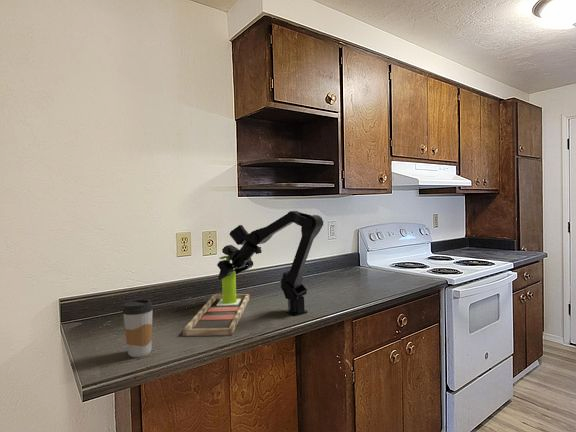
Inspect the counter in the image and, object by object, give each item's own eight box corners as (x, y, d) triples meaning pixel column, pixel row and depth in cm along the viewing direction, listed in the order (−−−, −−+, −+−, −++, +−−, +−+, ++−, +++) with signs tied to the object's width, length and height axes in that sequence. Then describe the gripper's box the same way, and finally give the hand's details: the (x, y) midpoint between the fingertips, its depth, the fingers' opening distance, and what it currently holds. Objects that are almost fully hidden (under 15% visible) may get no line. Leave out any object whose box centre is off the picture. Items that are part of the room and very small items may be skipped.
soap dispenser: (218, 302, 155) (216, 256, 154) (231, 299, 159) (230, 254, 159) (225, 305, 150) (223, 257, 150) (239, 301, 155) (237, 255, 154)
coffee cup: (145, 344, 111) (143, 297, 111) (160, 351, 106) (158, 301, 105) (119, 354, 105) (116, 303, 104) (133, 361, 100) (130, 308, 99)
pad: (237, 305, 151) (237, 304, 151) (216, 305, 151) (216, 304, 151) (241, 299, 160) (241, 298, 160) (220, 299, 160) (220, 299, 160)
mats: (234, 319, 133) (234, 319, 133) (200, 320, 133) (200, 319, 133) (240, 307, 148) (240, 307, 148) (210, 308, 148) (210, 307, 148)
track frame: (231, 335, 118) (231, 329, 118) (182, 335, 118) (182, 330, 118) (249, 298, 162) (249, 293, 161) (213, 299, 162) (213, 294, 162)
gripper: (247, 236, 161) (228, 259, 166) (219, 241, 144) (200, 267, 150) (262, 255, 157) (242, 278, 163) (236, 262, 141) (215, 287, 147)
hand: (225, 277), depth 156 cm, fingers open, 9 cm apart
